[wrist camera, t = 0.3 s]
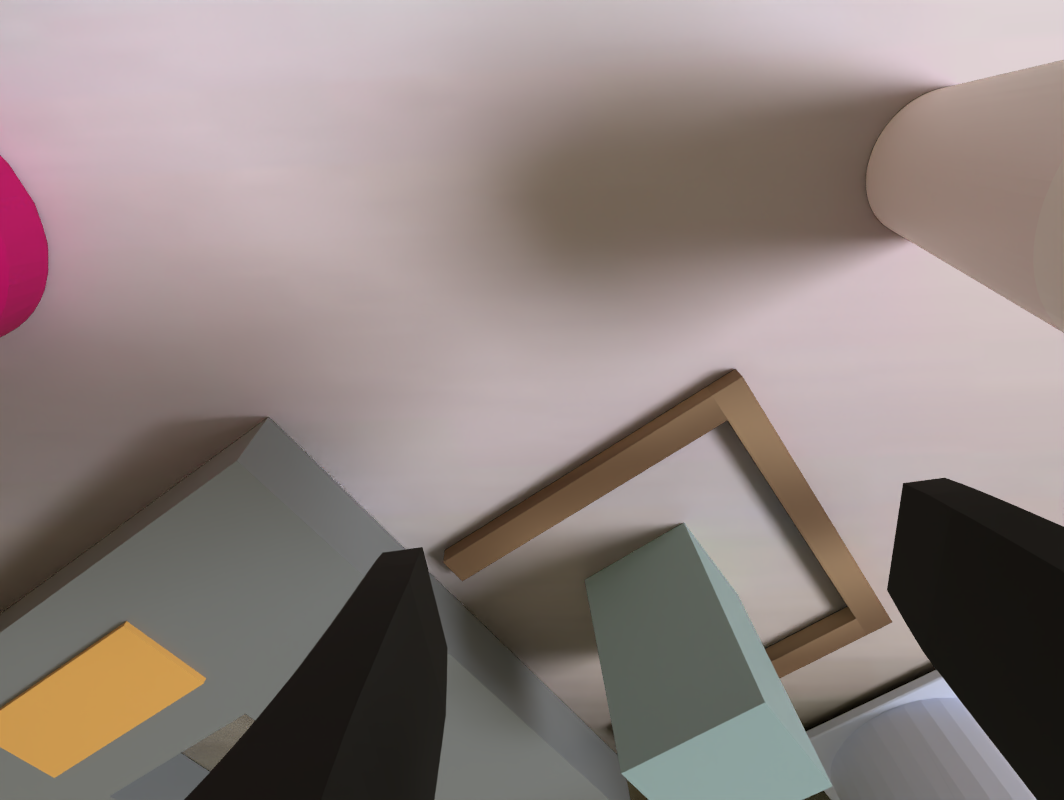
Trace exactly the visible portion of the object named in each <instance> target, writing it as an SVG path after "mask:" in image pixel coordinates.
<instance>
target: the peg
mask: <svg viewBox="0 0 1064 800" xmlns="http://www.w3.org/2000/svg"><path fill="white" fill-rule="evenodd" d="M585 585H586V590H587V595H588V601H589V606H590V611H591V616H592V622H593V627H594V632H595V638H596V643H597V648H598V654H599V659H600V664H601V669H602V675H603V680H604V685H605V691H606V696H607V701H608V706H609V712H610V717H611V722H612V728H613V733H614V738H615V744H616V749H617V754H618V759H619V765H620V770H621V774H622V775H623V776H624V777H625V778H626V779H627V780H628V781H629V782H631V783H632V784H633V785H634V786H635V787H636V788H637V789H638V790H639V791H640V792H641V793H642V794H643V795H644V796H645V797H646V798H647V799H648V800H803V799H806V798H808V797H810V796H812V795H815V794H817V793H819V792H821V791H823V790H826V789H828V788H830V787H832V784H831V782H830V780H829V778H828V776H827V774H826V772H825V770H824V768H823V766H822V764H821V762H820V760H819V758H818V756H817V754H816V751H815V749H814V747H813V745H812V743H811V741H810V739H809V737H808V735H807V733H806V731H805V729H804V727H803V725H802V723H801V721H800V719H799V717H798V715H797V713H796V711H795V709H794V707H793V705H792V703H791V701H790V699H789V697H788V695H787V693H786V691H785V689H784V687H783V685H782V683H781V681H780V679H779V677H778V675H777V673H776V671H775V669H774V667H773V665H772V663H771V661H770V659H769V657H768V655H767V653H766V651H765V649H764V647H763V645H762V643H761V640H760V638H759V636H758V634H757V632H756V630H755V628H754V626H753V624H752V622H751V620H750V618H749V616H748V614H747V612H746V610H745V608H744V606H743V604H742V602H741V600H740V598H739V596H738V594H737V593H736V592H735V590H734V589H733V588H732V586H731V585H730V584H729V582H728V581H727V580H726V578H725V577H724V576H723V574H722V573H721V572H720V570H719V569H718V568H717V566H716V565H715V564H714V562H713V561H712V560H711V558H710V557H709V556H708V554H707V553H706V552H705V550H704V549H703V548H702V546H701V545H700V544H699V542H698V541H697V540H696V538H695V537H694V535H693V534H692V533H691V531H690V530H689V529H688V527H687V526H686V525H685V523H682V524H681V525H679V526H677V527H675V528H674V529H672V530H670V531H668V532H667V533H665V534H663V535H662V536H660V537H658V538H656V539H655V540H653V541H651V542H649V543H648V544H646V545H644V546H642V547H641V548H639V549H637V550H636V551H634V552H632V553H630V554H629V555H627V556H625V557H623V558H622V559H620V560H618V561H617V562H615V563H613V564H611V565H610V566H608V567H606V568H604V569H603V570H601V571H599V572H598V573H596V574H594V575H592V576H591V577H589V578H587V579H585Z"/></svg>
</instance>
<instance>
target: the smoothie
mask: <svg viewBox="0 0 1064 800" xmlns="http://www.w3.org/2000/svg"><path fill="white" fill-rule="evenodd" d="M866 191H867V197H868V201H869V204H870V206H871V209H872V211H873V212H874V214H875V216H876V217H877V218H878V220H879V221H880V222H881V223H882V224H883V225H885V226H886V227H887V228H889V229H890V230H892V231H894V232H895V233H897V234H899V235H900V236H902V237H904V238H906V239H907V240H909V241H911V242H912V243H914V244H916V245H917V246H919V247H921V248H922V249H924V250H926V251H927V252H929V253H931V254H932V255H934V256H936V257H937V258H939V259H941V260H942V261H944V262H946V263H948V264H949V265H951V266H953V267H954V268H956V269H958V270H959V271H961V272H963V273H964V274H966V275H968V276H969V277H971V278H973V279H974V280H976V281H978V282H979V283H981V284H983V285H984V286H986V287H988V288H989V289H991V290H993V291H995V292H996V293H998V294H1000V295H1001V296H1003V297H1005V298H1006V299H1008V300H1010V301H1011V302H1013V303H1015V304H1016V305H1018V306H1020V307H1021V308H1023V309H1025V310H1026V311H1028V312H1030V313H1031V314H1033V315H1035V316H1037V317H1038V318H1040V319H1042V320H1043V321H1045V322H1047V323H1048V324H1050V325H1052V326H1053V327H1055V328H1057V329H1058V330H1060V331H1062V332H1063V333H1064V60H1061V61H1057V62H1052V63H1048V64H1044V65H1039V66H1035V67H1031V68H1027V69H1022V70H1018V71H1014V72H1009V73H1005V74H1001V75H996V76H992V77H988V78H984V79H979V80H975V81H971V82H966V83H962V84H958V85H953V86H949V87H945V88H941V89H937V90H934V91H931V92H928V93H926V94H924V95H922V96H920V97H918V98H916V99H915V100H913V101H912V102H910V103H909V104H908V105H906V106H905V107H904V108H903V109H901V110H900V111H899V112H898V113H897V114H896V115H895V116H894V117H893V118H892V119H891V121H890V122H889V123H888V124H887V126H886V127H885V128H884V130H883V131H882V133H881V134H880V136H879V138H878V140H877V141H876V144H875V146H874V148H873V150H872V153H871V156H870V159H869V162H868V167H867V174H866Z"/></svg>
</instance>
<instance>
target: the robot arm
mask: <svg viewBox="0 0 1064 800" xmlns="http://www.w3.org/2000/svg"><path fill="white" fill-rule="evenodd" d="M887 591H888V592H889V594H890V596H891V598H892V599H893V601H894V603H895V605H896V606H897V608H898V610H899V612H900V614H901V615H902V617H903V619H904V621H905V622H906V624H907V626H908V627H909V629H910V631H911V632H912V634H913V636H914V637H915V639H916V641H917V642H918V644H919V645H920V647H921V649H922V650H923V652H924V653H925V655H926V656H927V657H928V659H929V660H930V662H931V663H932V664H933V666H934V667H935V668H936V670H934V671H932V672H930V673H928V674H926V675H924V676H922V677H920V678H918V679H916V680H913V681H911V682H909V683H907V684H905V685H903V686H901V687H899V688H897V689H894V690H892V691H890V692H888V693H886V694H884V695H882V696H880V697H878V698H876V699H873V700H871V701H869V702H867V703H865V704H863V705H861V706H859V707H857V708H854V709H852V710H850V711H848V712H846V713H844V714H842V715H840V716H838V717H836V718H833V719H831V720H829V721H827V722H825V723H823V724H821V725H819V726H817V727H814V728H812V729H810V730H808V731H806V733H807V735H808V737H809V739H810V741H811V743H812V745H813V747H814V749H815V751H816V754H817V756H818V758H819V760H820V762H821V764H822V766H823V768H824V770H825V772H826V774H827V776H828V778H829V780H830V782H831V784H832V787H830V788H828V789H826V790H824V792H825V793H826V794H827V795H828V797H829V798H830V799H831V800H1064V527H1063V526H1061V525H1058V524H1056V523H1054V522H1051V521H1049V520H1047V519H1044V518H1042V517H1040V516H1037V515H1035V514H1033V513H1031V512H1028V511H1026V510H1024V509H1021V508H1019V507H1017V506H1014V505H1012V504H1010V503H1007V502H1005V501H1003V500H1000V499H998V498H995V497H993V496H991V495H988V494H986V493H983V492H981V491H979V490H976V489H974V488H971V487H968V486H966V485H963V484H960V483H958V482H955V481H952V480H949V479H946V478H940V479H932V480H925V481H917V482H910V483H903V488H902V495H901V502H900V508H899V515H898V521H897V528H896V535H895V541H894V548H893V555H892V561H891V568H890V574H889V581H888V588H887ZM447 650H448V647H447V643H446V640H445V636H444V632H443V628H442V624H441V620H440V616H439V612H438V608H437V604H436V600H435V596H434V592H433V588H432V584H431V580H430V576H429V572H428V568H427V564H426V560H425V556H424V552H423V548H422V547H421V548H413V549H406V550H398V551H390V552H383V553H382V554H381V555H380V556H379V557H378V558H377V560H376V561H375V562H374V564H373V565H372V567H371V568H370V569H369V571H368V572H367V574H366V575H365V577H364V578H363V579H362V581H361V582H360V584H359V585H358V586H357V588H356V589H355V591H354V592H353V594H352V595H351V596H350V598H349V599H348V601H347V602H346V604H345V605H344V606H343V608H342V609H341V611H340V612H339V613H338V615H337V616H336V618H335V619H334V620H333V622H332V623H331V625H330V626H329V627H328V629H327V630H326V631H325V633H324V634H323V635H322V637H321V638H320V639H319V641H318V642H317V643H316V645H315V646H314V647H313V649H312V650H311V651H310V653H309V654H308V655H307V657H306V658H305V659H304V661H303V662H302V663H301V665H300V666H299V667H298V669H297V670H296V671H295V672H294V674H293V675H292V676H291V677H290V679H289V680H288V681H287V682H286V684H285V685H284V686H283V687H282V689H281V690H280V691H279V692H278V693H277V695H276V696H275V697H274V698H273V700H272V701H271V702H270V703H269V704H268V706H267V707H266V708H265V709H264V710H263V712H262V713H261V714H260V715H259V717H258V718H257V719H256V720H255V721H254V723H253V724H252V725H251V726H250V728H249V729H248V730H247V731H246V732H245V733H244V735H243V736H242V737H241V738H240V739H239V740H238V741H237V743H236V744H235V745H234V746H233V747H232V748H231V749H230V751H229V752H228V753H227V754H226V755H225V756H224V757H223V758H222V760H221V761H220V762H219V763H218V764H217V765H216V766H215V767H214V768H213V770H212V771H211V772H210V773H209V774H208V775H207V776H206V777H205V778H204V779H203V780H202V781H201V782H200V783H199V784H198V785H197V787H196V788H195V789H194V790H193V791H192V792H191V793H190V794H189V795H188V796H187V797H186V798H185V799H184V800H434V799H435V792H436V785H437V778H438V770H439V763H440V756H441V748H442V741H443V733H444V725H445V718H446V696H447Z"/></svg>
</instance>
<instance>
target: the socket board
mask: <svg viewBox="0 0 1064 800" xmlns="http://www.w3.org/2000/svg"><path fill="white" fill-rule="evenodd" d="M398 550H405V549H404V548H403V547H402V546H401V545H400V544H399V543H398V542H397V541H396V540H395V539H394V538H393V537H392V536H391V535H390V534H389V533H388V532H387V531H386V530H385V529H384V528H383V527H382V526H381V525H380V524H379V523H377V522H376V521H375V520H374V519H373V518H372V517H371V516H370V515H369V514H368V513H367V512H366V511H365V510H364V509H363V508H362V507H361V506H360V505H359V504H358V503H357V502H356V501H355V500H354V499H353V498H352V497H351V496H350V495H349V494H348V493H347V492H345V491H344V490H343V489H342V488H341V487H340V486H339V485H338V484H337V483H336V482H335V481H334V480H333V479H332V478H331V477H330V476H329V475H328V474H327V473H326V472H325V471H324V470H323V469H322V468H321V467H320V466H319V465H318V464H317V463H316V462H315V461H314V460H312V459H311V458H310V457H309V456H308V455H307V454H306V453H305V452H304V451H303V450H302V449H301V448H300V447H299V446H298V445H297V444H296V443H295V442H294V441H293V440H292V439H291V438H290V437H289V436H288V435H287V434H286V433H285V432H284V431H283V430H282V429H280V428H279V427H278V426H277V425H276V424H275V423H274V422H273V421H272V420H271V419H270V418H269V417H268V418H266V419H265V420H264V421H262V422H261V423H260V424H258V425H257V426H256V427H254V428H253V429H251V430H250V431H249V432H247V433H246V434H245V435H243V436H242V437H241V438H239V439H238V440H237V441H235V442H234V443H232V444H231V445H230V446H228V447H227V448H226V449H224V450H223V451H222V452H220V453H219V454H218V455H216V456H215V457H213V458H212V459H211V460H209V461H208V462H207V463H205V464H204V465H203V466H201V467H200V468H198V469H197V470H196V471H194V472H193V473H192V474H190V475H189V476H188V477H186V478H185V479H184V480H182V481H181V482H179V483H178V484H177V485H175V486H174V487H173V488H171V489H170V490H169V491H167V492H166V493H165V494H163V495H162V496H160V497H159V498H158V499H156V500H155V501H154V502H152V503H151V504H150V505H148V506H147V507H146V508H144V509H143V510H141V511H140V512H139V513H137V514H136V515H135V516H133V517H132V518H131V519H129V520H128V521H127V522H125V523H124V524H122V525H121V526H120V527H118V528H117V529H116V530H114V531H113V532H112V533H110V534H109V535H108V536H106V537H105V538H103V539H102V540H101V541H99V542H98V543H97V544H95V545H94V546H93V547H91V548H90V549H89V550H87V551H86V552H84V553H83V554H82V555H80V556H79V557H78V558H76V559H75V560H74V561H72V562H71V563H70V564H68V565H67V566H65V567H64V568H63V569H61V570H60V571H59V572H57V573H56V574H55V575H53V576H52V577H51V578H49V579H48V580H46V581H45V582H44V583H42V584H41V585H40V586H38V587H37V588H36V589H34V590H33V591H32V592H30V593H29V594H27V595H26V596H25V597H23V598H22V599H21V600H19V601H18V602H17V603H15V604H14V605H13V606H11V607H10V608H8V609H7V610H6V611H4V612H3V613H2V614H0V800H184V799H185V798H186V797H187V796H188V795H189V794H190V793H191V792H192V791H193V790H194V789H195V788H196V787H197V785H198V784H199V783H200V782H201V781H202V780H203V779H204V778H205V777H206V776H207V775H208V774H209V773H210V772H209V771H208V770H206V769H205V768H203V767H202V766H200V765H198V764H197V763H195V762H194V761H192V760H191V759H189V758H188V757H186V756H185V755H183V754H181V752H183V751H184V750H186V749H188V748H189V747H191V746H193V745H194V744H196V743H198V742H199V741H201V740H203V739H204V738H206V737H208V736H209V735H211V734H213V733H214V732H216V731H217V730H219V729H221V728H222V727H224V726H226V725H227V724H229V723H231V722H232V721H234V720H236V719H237V718H239V717H241V716H242V715H244V714H246V715H248V716H249V717H251V718H252V719H253V720H256V719H257V718H258V717H259V715H260V714H261V713H262V712H263V710H264V709H265V708H266V707H267V706H268V704H269V703H270V702H271V701H272V700H273V698H274V697H275V696H276V695H277V693H278V692H279V691H280V690H281V689H282V687H283V686H284V685H285V684H286V682H287V681H288V680H289V679H290V677H291V676H292V675H293V674H294V672H295V671H296V670H297V669H298V667H299V666H300V665H301V663H302V662H303V661H304V659H305V658H306V657H307V655H308V654H309V653H310V651H311V650H312V649H313V647H314V646H315V645H316V643H317V642H318V641H319V639H320V638H321V637H322V635H323V634H324V633H325V631H326V630H327V629H328V627H329V626H330V625H331V623H332V622H333V620H334V619H335V618H336V616H337V615H338V613H339V612H340V611H341V609H342V608H343V606H344V605H345V604H346V602H347V601H348V599H349V598H350V596H351V595H352V594H353V592H354V591H355V589H356V588H357V586H358V585H359V584H360V582H361V581H362V579H363V578H364V577H365V575H366V574H367V572H368V571H369V569H370V568H371V567H372V565H373V564H374V562H375V561H376V560H377V558H378V557H379V556H380V555H381V554H382V553H383V552H390V551H398ZM429 576H430V580H431V584H432V588H433V592H434V596H435V600H436V604H437V608H438V612H439V616H440V620H441V624H442V628H443V632H444V636H445V640H446V643H447V647H448V650H447V696H446V718H445V725H444V733H443V741H442V748H441V756H440V763H439V770H438V778H437V785H436V792H435V799H434V800H630V795H629V789H628V784H627V779H626V778H625V777H624V776H623V775H622V774H621V770H620V765H619V759H618V755H617V754H616V753H615V752H614V751H613V750H612V749H611V748H610V747H609V746H608V745H607V744H605V743H604V742H603V741H602V740H601V739H600V738H599V737H598V736H597V735H596V734H595V733H594V732H593V731H592V730H591V729H590V728H589V727H588V726H587V725H586V724H585V723H584V722H583V721H582V720H581V719H580V718H579V717H578V716H577V715H576V714H575V713H573V712H572V711H571V710H570V709H569V708H568V707H567V706H566V705H565V704H564V703H563V702H562V701H561V700H560V699H559V698H558V697H557V696H556V695H555V694H554V693H553V692H552V691H551V690H550V689H549V688H548V687H547V686H546V685H545V684H544V683H543V682H542V681H540V680H539V679H538V678H537V677H536V676H535V675H534V674H533V673H532V672H531V671H530V670H529V669H528V668H527V667H526V666H525V665H524V664H523V663H522V662H521V661H520V660H519V659H518V658H517V657H516V656H515V655H514V654H513V653H512V652H511V651H510V650H509V649H507V648H506V647H505V646H504V645H503V644H502V643H501V642H500V641H499V640H498V639H497V638H496V637H495V636H494V635H493V634H492V633H491V632H490V631H489V630H488V629H487V628H486V627H485V626H484V625H483V624H482V623H481V622H480V621H479V620H478V619H477V618H475V617H474V616H473V615H472V614H471V613H470V612H469V611H468V610H467V609H466V608H465V607H464V606H463V605H462V604H461V603H460V602H459V601H458V600H457V599H456V598H455V597H454V596H453V595H452V594H451V593H450V592H449V591H448V590H447V589H446V588H445V587H444V586H442V585H441V584H440V583H439V582H438V581H437V580H436V579H435V578H434V577H433V576H432V575H431V574H430V573H429Z"/></svg>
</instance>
